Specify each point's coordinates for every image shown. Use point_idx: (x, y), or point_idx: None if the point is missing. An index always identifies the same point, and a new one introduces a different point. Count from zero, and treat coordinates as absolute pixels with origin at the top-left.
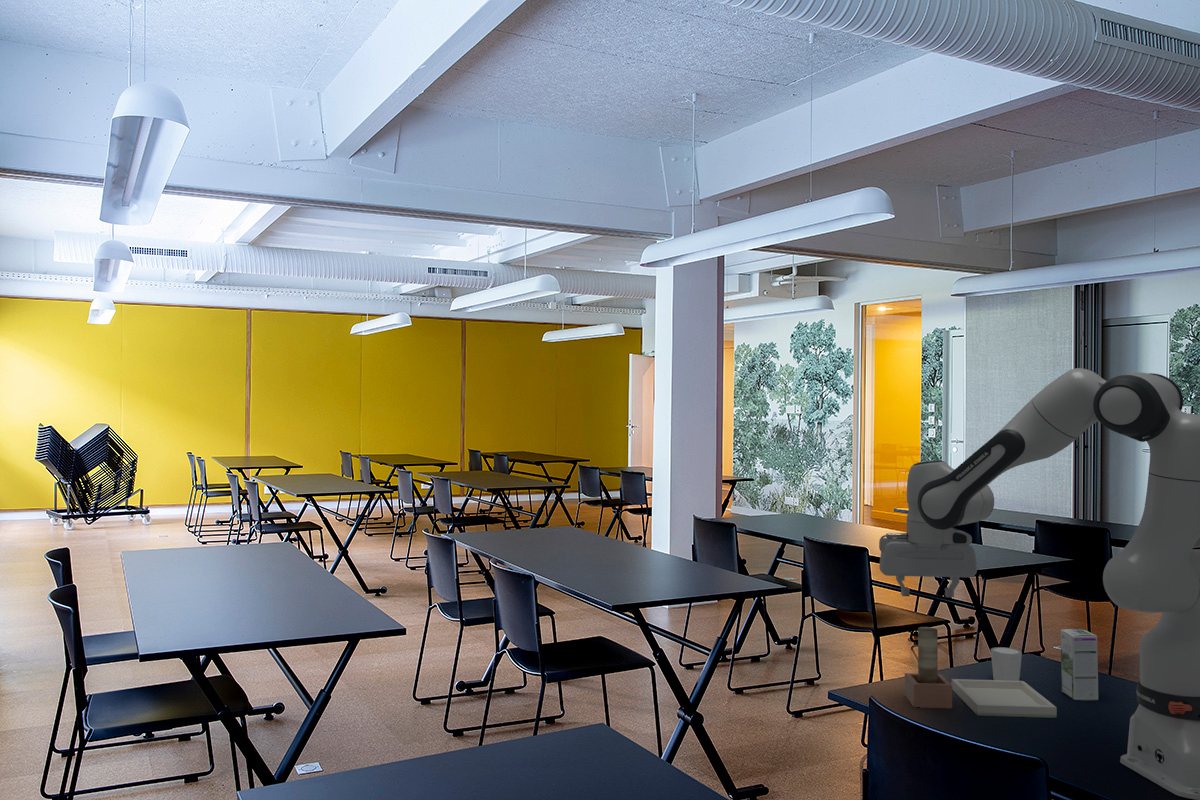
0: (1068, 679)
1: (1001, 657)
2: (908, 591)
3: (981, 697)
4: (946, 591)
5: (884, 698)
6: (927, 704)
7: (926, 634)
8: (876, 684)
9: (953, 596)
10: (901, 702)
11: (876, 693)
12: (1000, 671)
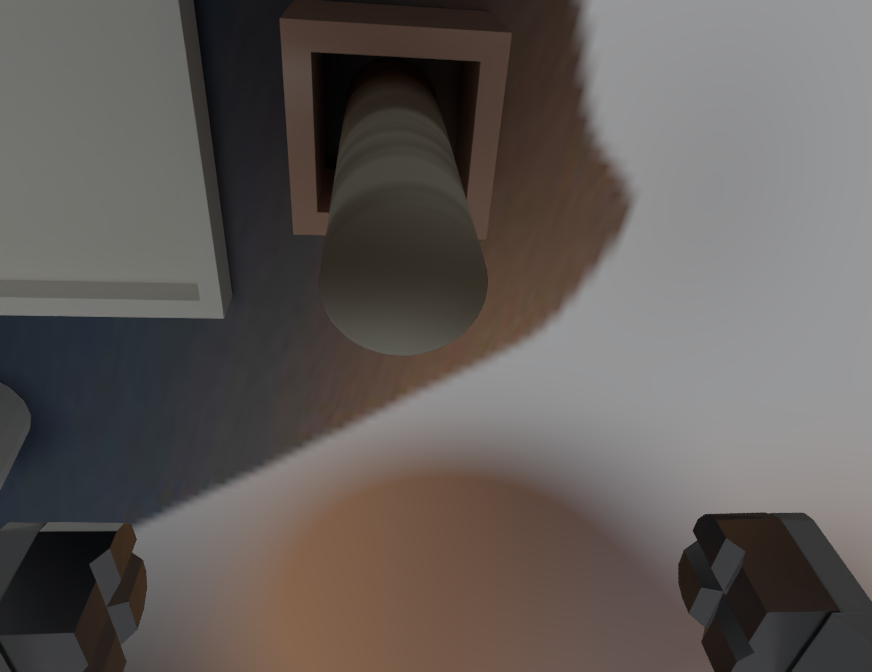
0: None
1: None
2: (762, 569)
3: (112, 148)
4: (102, 616)
5: (580, 149)
6: (423, 10)
7: (439, 205)
8: (537, 326)
9: (9, 527)
10: (523, 93)
11: (586, 217)
12: None
